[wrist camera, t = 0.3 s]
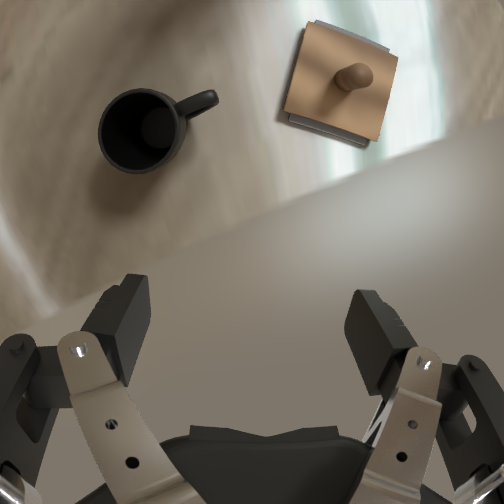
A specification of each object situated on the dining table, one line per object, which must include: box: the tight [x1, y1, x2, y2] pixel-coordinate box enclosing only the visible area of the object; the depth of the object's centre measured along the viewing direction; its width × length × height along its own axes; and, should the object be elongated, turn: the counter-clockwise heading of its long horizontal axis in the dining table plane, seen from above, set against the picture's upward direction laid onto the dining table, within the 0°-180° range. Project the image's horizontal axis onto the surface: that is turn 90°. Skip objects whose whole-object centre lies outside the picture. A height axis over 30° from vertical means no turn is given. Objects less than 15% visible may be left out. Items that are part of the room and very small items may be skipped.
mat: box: [288, 20, 390, 146], centre depth 32 cm, size 14×10×1 cm
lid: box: [283, 21, 398, 142], centre depth 29 cm, size 12×12×6 cm
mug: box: [98, 88, 219, 174], centre depth 29 cm, size 8×12×10 cm
